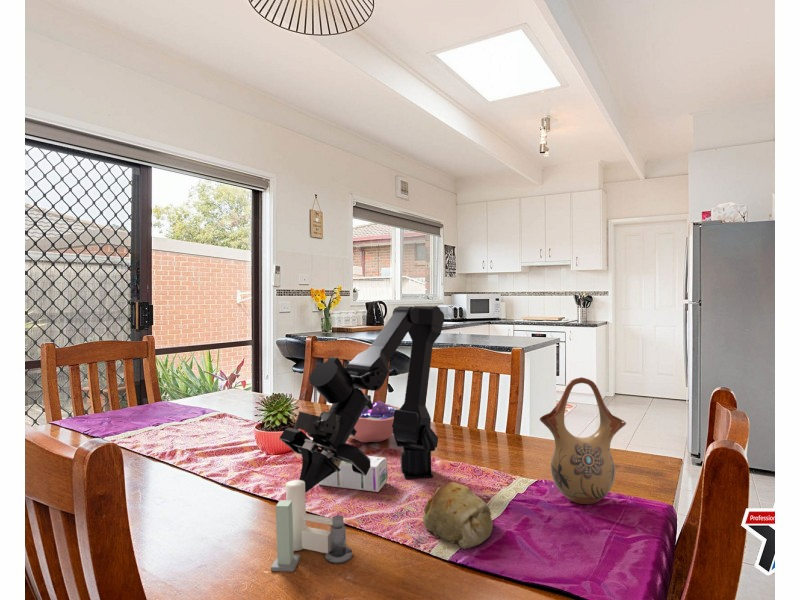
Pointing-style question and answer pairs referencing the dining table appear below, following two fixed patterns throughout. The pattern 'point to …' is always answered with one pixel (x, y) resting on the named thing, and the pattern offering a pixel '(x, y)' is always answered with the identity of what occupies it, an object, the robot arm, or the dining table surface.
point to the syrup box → (359, 476)
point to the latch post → (285, 538)
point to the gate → (301, 533)
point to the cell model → (375, 423)
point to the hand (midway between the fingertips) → (299, 494)
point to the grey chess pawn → (338, 547)
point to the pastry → (458, 516)
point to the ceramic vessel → (582, 452)
